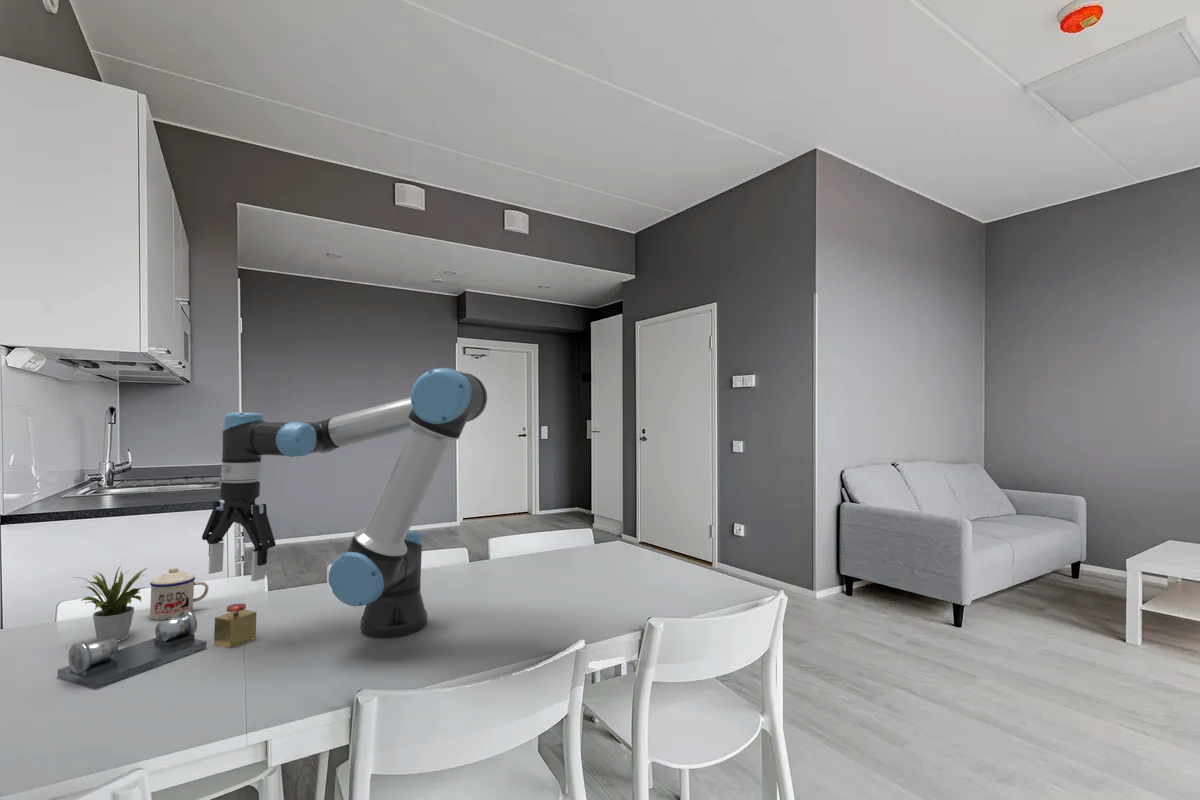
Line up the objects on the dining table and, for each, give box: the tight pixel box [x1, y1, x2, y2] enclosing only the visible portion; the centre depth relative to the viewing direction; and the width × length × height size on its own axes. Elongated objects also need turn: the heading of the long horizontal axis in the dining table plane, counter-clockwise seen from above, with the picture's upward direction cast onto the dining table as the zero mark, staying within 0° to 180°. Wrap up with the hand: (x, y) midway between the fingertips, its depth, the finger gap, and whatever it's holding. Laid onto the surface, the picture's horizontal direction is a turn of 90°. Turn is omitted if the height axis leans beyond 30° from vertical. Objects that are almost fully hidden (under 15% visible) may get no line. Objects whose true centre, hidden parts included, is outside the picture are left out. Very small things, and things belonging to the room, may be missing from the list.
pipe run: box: [57, 610, 207, 690], centre depth 115 cm, size 20×12×7 cm, turn 159°
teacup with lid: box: [149, 566, 209, 621], centre depth 143 cm, size 12×9×12 cm
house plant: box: [73, 566, 148, 642], centre depth 125 cm, size 14×14×16 cm
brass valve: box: [213, 603, 257, 649], centre depth 126 cm, size 6×5×8 cm
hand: (236, 576), depth 126 cm, fingers open, 13 cm apart
